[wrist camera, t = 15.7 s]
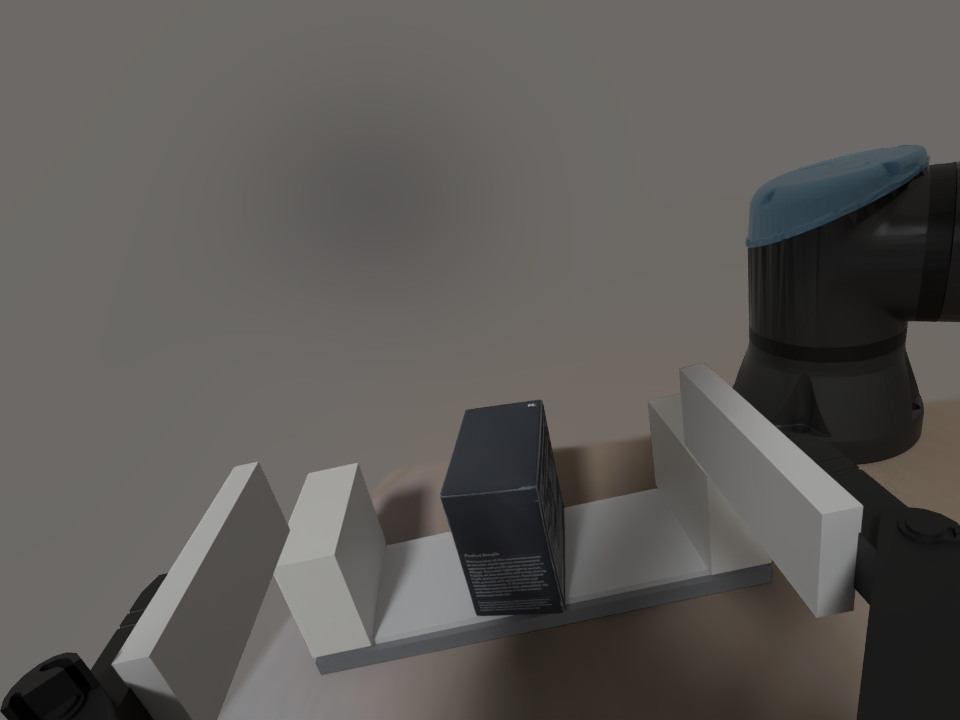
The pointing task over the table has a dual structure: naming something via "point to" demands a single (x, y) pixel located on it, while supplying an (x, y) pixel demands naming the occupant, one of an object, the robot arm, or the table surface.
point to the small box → (507, 511)
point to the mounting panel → (588, 581)
